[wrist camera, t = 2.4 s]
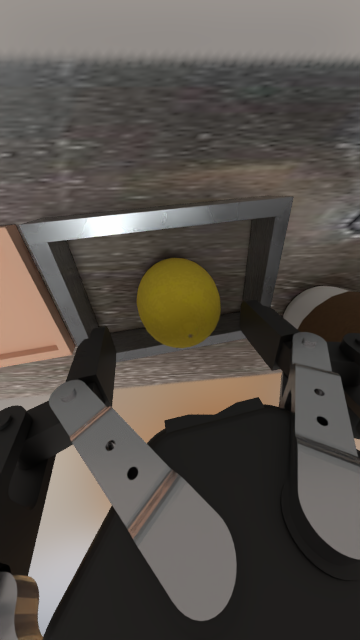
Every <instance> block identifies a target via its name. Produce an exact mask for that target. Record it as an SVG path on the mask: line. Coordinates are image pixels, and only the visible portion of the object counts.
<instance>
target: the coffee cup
mask: <svg viewBox="0 0 360 640" xmlns="http://www.w3.org/2000/svg"><path fill="white" fill-rule="evenodd" d="M283 318H284V319H286V320H287V321H288V322H289V323H290V324H292V325H293V326H294V327H295V328H296V329H298V330H299V331H300V332H309V333H313V334H316V335H318V336H320V337H322V338H323V339H324V340H325V341H328V342H342V339H343V337H344V336H345V335H346V334H348V333H359V334H360V292H352V291H348V290H344V289H341V288H337V287H330V286H317V287H313V288H310V289H307V290H305V291H304V292H302V293H301V294H299V295H298V296H296V297H295V298H294V299H293V300H292V301H291V303H290V304H289V305H288V306H287V308H286V310H285V312H284V314H283ZM347 409H348V414H349V418H350V423H351V427H352V432H353V437H354V438H356V439H360V418H359V417H358V416H357V415H356V414H355V413H354V412H353V411H352V409H351V408H350V407H349V406H348V405H347Z"/></svg>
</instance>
